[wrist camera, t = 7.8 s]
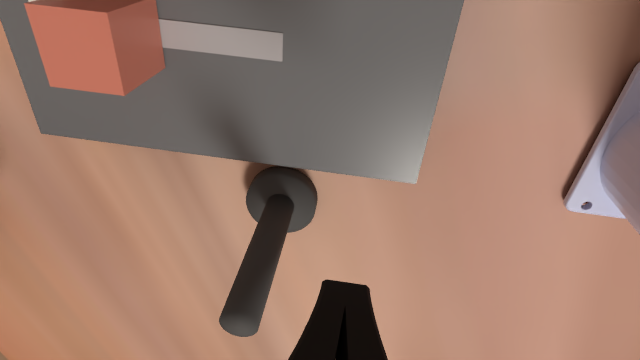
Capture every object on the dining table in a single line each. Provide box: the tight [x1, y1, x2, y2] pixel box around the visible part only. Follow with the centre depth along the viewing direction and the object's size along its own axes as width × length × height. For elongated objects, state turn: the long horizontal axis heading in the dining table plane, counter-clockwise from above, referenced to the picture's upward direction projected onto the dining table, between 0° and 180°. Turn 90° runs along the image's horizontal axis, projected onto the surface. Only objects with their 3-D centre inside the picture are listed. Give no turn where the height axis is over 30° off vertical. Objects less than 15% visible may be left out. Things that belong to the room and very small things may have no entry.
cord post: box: [219, 166, 317, 337], centre depth 19 cm, size 4×4×9 cm
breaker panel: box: [0, 0, 464, 184], centre depth 18 cm, size 20×12×2 cm, turn 86°
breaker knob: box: [24, 0, 165, 96], centre depth 16 cm, size 3×3×4 cm
